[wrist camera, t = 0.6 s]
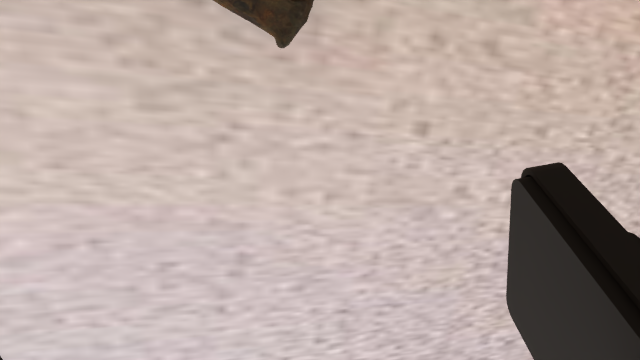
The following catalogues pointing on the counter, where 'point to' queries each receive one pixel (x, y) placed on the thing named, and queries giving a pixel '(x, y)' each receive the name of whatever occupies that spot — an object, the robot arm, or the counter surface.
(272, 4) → the charcoal colored rounded log
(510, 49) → the counter surface
